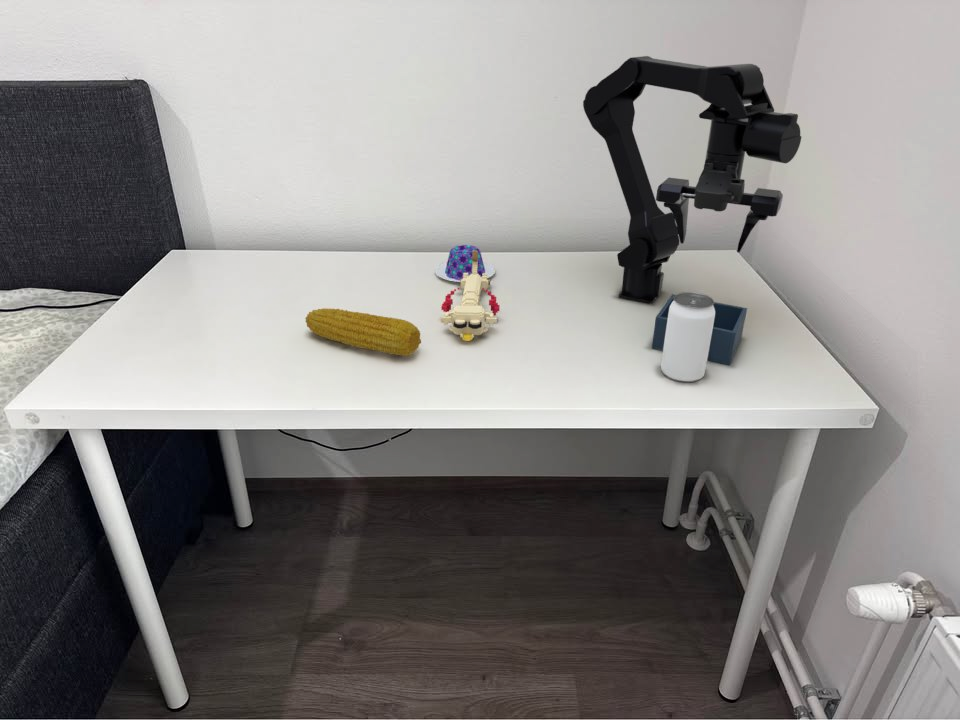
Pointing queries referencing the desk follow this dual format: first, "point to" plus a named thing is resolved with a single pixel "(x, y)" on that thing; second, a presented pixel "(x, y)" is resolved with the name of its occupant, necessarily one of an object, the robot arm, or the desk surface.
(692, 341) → the can
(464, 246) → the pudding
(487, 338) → the desk surface
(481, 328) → the cream brick animal figure
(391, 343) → the food
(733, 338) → the bin
